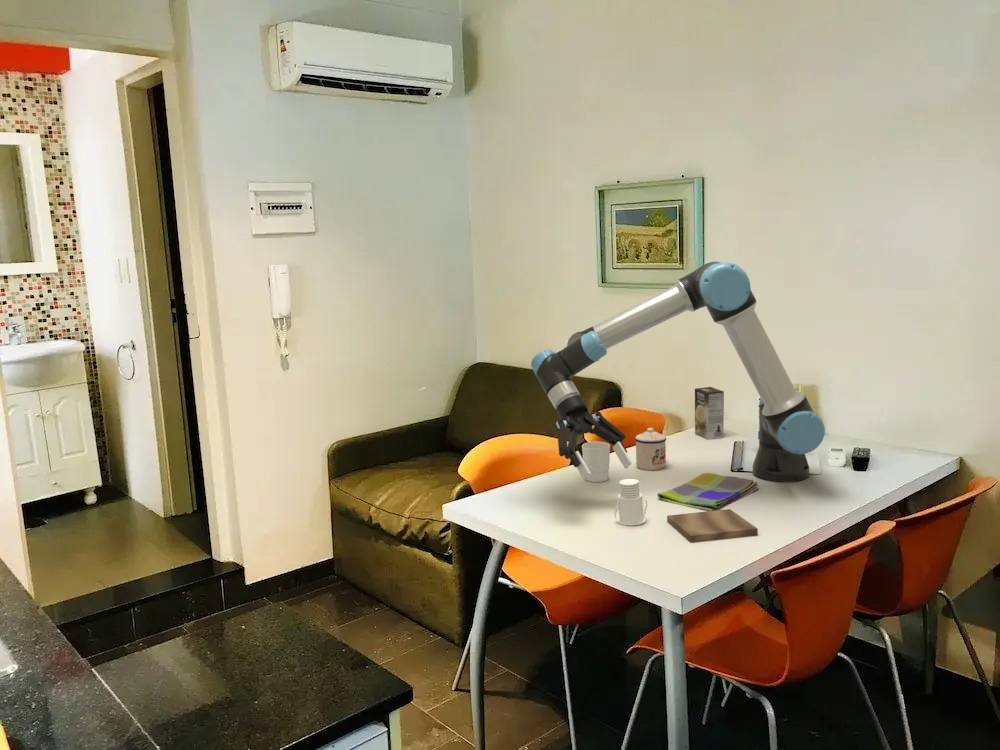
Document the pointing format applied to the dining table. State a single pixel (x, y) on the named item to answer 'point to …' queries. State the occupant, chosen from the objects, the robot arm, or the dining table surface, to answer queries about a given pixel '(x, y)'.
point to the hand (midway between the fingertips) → (608, 471)
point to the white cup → (597, 460)
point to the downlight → (630, 503)
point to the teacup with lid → (650, 450)
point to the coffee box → (709, 412)
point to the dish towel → (709, 491)
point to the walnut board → (711, 525)
